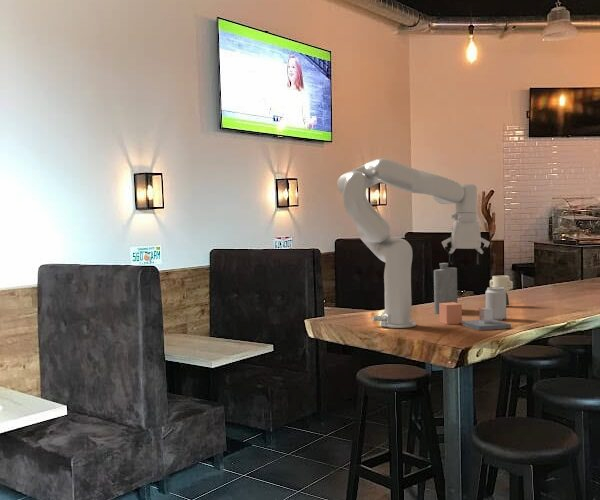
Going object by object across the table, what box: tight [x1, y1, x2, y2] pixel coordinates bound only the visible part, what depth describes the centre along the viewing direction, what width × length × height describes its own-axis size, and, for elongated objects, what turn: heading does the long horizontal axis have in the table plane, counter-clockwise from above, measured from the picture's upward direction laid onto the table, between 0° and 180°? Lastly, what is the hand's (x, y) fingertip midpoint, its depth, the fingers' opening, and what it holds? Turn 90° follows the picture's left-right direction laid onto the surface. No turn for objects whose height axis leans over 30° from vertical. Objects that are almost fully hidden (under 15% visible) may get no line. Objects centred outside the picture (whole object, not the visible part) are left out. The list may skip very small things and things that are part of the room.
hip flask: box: [433, 262, 458, 315], centre depth 265 cm, size 16×4×20 cm, turn 139°
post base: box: [461, 307, 512, 332], centre depth 225 cm, size 12×12×6 cm
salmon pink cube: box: [438, 302, 463, 325], centre depth 236 cm, size 6×6×7 cm
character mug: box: [489, 275, 514, 306], centre depth 275 cm, size 11×7×13 cm, turn 41°
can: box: [485, 286, 507, 321], centre depth 241 cm, size 8×8×12 cm
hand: (465, 264), depth 237 cm, fingers open, 9 cm apart
